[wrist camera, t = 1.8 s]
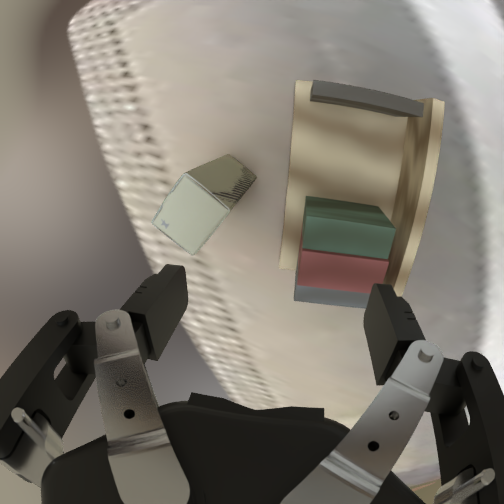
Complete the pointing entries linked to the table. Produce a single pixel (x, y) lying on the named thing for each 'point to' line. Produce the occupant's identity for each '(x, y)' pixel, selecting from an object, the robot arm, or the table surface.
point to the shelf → (357, 189)
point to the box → (202, 202)
